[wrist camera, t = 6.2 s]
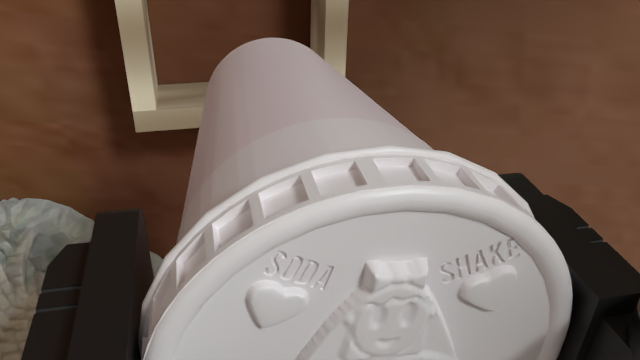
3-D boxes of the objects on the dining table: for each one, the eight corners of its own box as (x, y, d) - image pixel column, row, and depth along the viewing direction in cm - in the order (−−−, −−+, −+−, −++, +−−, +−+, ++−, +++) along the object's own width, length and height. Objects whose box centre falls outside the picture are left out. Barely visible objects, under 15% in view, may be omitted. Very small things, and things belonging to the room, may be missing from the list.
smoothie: (158, 199, 17) (125, 1023, 5) (148, -24, 14) (5, 845, 2) (362, 193, 18) (688, 820, 7) (398, -8, 15) (1140, 533, 4)
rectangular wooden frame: (105, -114, 23) (97, -108, 20) (335, -112, 24) (354, -106, 22) (139, 105, 27) (135, 132, 25) (328, 92, 29) (343, 116, 27)
